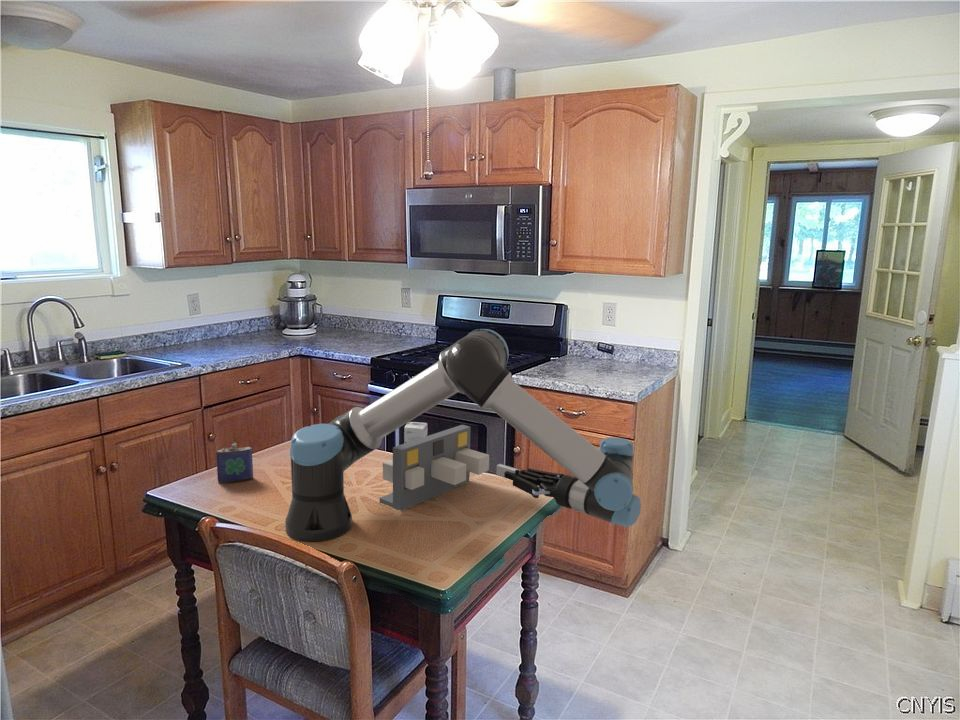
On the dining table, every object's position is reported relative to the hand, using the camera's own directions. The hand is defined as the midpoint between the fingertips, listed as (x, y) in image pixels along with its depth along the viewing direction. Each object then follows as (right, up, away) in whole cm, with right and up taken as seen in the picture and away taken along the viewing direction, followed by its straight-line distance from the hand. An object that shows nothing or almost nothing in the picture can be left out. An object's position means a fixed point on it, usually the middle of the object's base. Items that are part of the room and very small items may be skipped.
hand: (498, 469), depth 166 cm
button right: (-8, -1, +6) cm, 10 cm away
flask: (-72, -5, +9) cm, 73 cm away
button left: (-24, -2, -4) cm, 25 cm away
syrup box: (-23, -4, +18) cm, 30 cm away
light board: (-19, -7, +4) cm, 21 cm away
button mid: (-14, -2, -1) cm, 14 cm away
